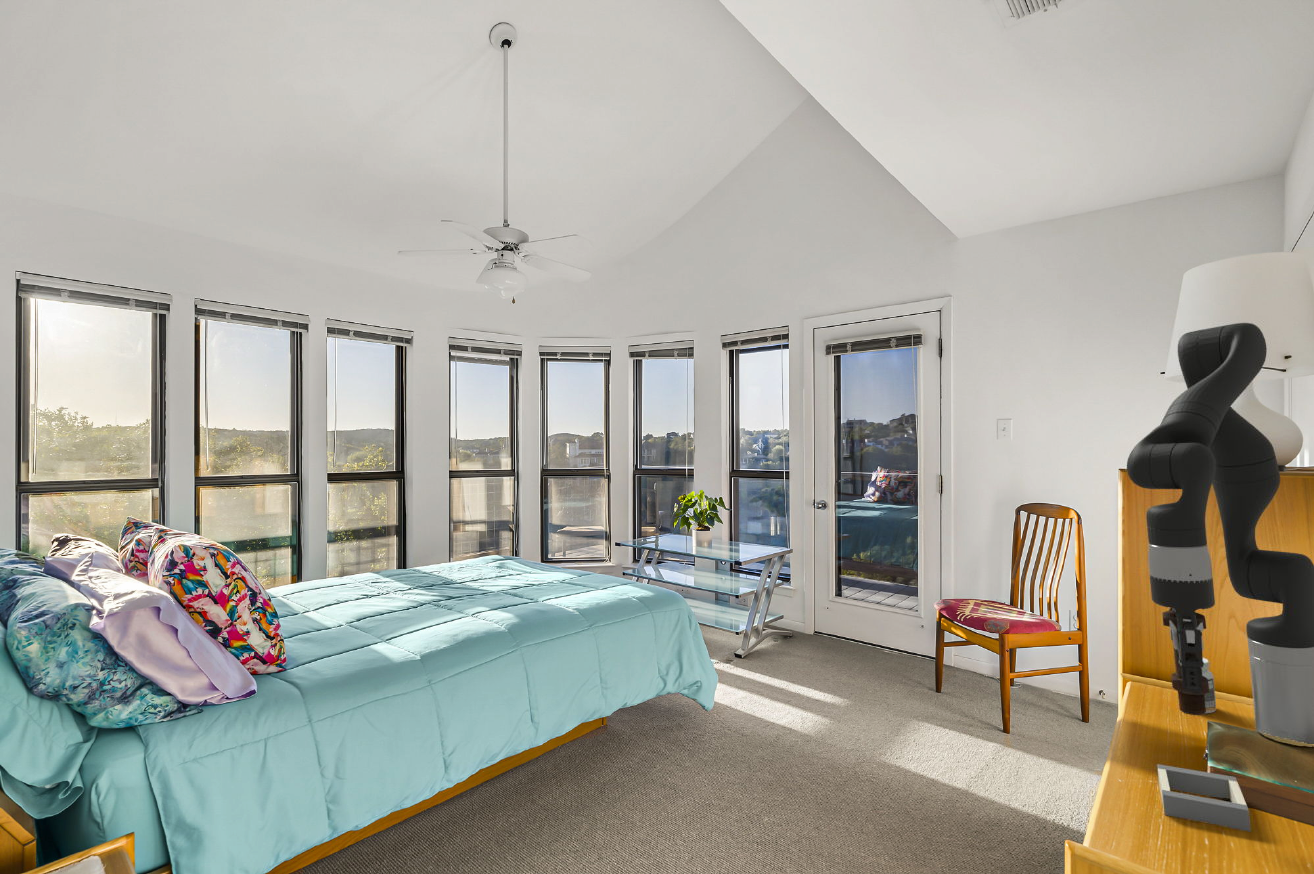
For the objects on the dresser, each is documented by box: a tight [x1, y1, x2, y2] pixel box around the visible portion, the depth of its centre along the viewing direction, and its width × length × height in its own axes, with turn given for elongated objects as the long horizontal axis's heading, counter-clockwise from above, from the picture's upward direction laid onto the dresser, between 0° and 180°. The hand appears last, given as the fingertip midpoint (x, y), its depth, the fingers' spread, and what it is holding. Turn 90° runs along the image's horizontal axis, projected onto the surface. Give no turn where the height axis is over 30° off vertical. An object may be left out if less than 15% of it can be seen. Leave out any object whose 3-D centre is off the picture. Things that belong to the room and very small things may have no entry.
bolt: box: [1162, 610, 1209, 716], centre depth 98 cm, size 6×5×15 cm
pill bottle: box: [1202, 657, 1217, 714], centre depth 129 cm, size 6×6×10 cm
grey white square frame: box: [1156, 763, 1252, 833], centre depth 98 cm, size 10×10×3 cm
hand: (1190, 684), depth 98 cm, fingers closed on bolt, 4 cm apart
